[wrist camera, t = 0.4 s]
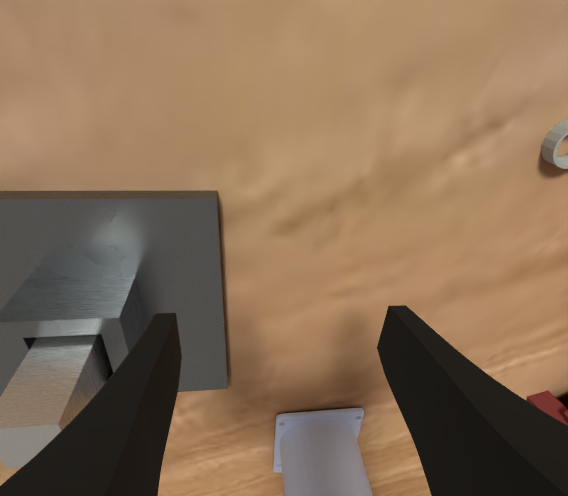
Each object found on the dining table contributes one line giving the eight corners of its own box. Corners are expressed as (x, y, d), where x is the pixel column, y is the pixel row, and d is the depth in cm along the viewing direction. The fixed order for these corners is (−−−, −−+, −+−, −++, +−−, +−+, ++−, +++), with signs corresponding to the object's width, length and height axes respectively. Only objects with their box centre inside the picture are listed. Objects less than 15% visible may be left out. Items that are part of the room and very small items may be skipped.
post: (123, 334, 23) (78, 462, 17) (72, 337, 23) (5, 468, 16) (113, 298, 22) (58, 423, 15) (58, 300, 21) (-23, 429, 15)
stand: (227, 377, 29) (226, 432, 25) (10, 391, 27) (-28, 452, 23) (217, 190, 20) (213, 230, 16) (-105, 191, 18) (-195, 237, 14)
